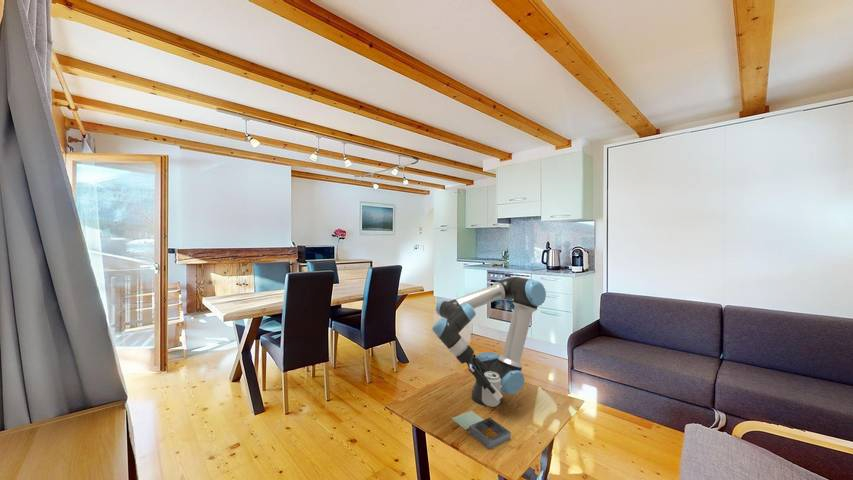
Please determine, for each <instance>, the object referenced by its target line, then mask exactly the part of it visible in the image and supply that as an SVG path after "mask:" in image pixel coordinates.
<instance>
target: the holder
mask: <svg viewBox="0 0 853 480" xmlns="http://www.w3.org/2000/svg"><path fill="white" fill-rule="evenodd" d="M488 428H490V429H491V430H493V432H495V433H497V434H496V435H495V436H493V437H491V438H489V437H488V436H487V435H486V434H484V433H483V432H482V431H484V430H486V429H488ZM468 433H469V435H470V436H472V437H473V438H474V439H475V440H477V442H479V443H481V444H482V445H483V446H484V447H486V449H488V450H491V449H494V448H497V447H498V446H500V445H502V444H504V443H506V442H508V441H510V440H511V436H512V435H511V434H512V432H511V431H510V430H508V429H507V428H505V427H504V426H503V425H501V424H500V423H498V422H497V421H495V420H494V419H493V418H492V417H488V418H485V419H484V420H483V421H480V422H478V423H475V424H473V425H470V426H469V429H468Z"/></svg>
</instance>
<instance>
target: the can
mask: <svg viewBox="0 0 853 480" xmlns="http://www.w3.org/2000/svg"><path fill="white" fill-rule="evenodd" d="M484 375H485V377H486V378H487V379H488V381H489V382H490V384H491V383H492V385H493V386H494V387H495V388H496V389H497V390H498V391H499V392H500V393H501V390H500V388H501V378H500V377H499V374H498V373H496V372H491V371H489V372H485V373H484ZM482 402H483V403H484V404H485V405H487V406H486V407H497V406H498V405H500V404H501V403H500V399H499V400H498V401H497V400H496V399H495V397H494V396H493V395H492V394H491V393H490V392H489V391H488V389H487V388H486V389H484V388H483V387H482ZM499 403H500V404H499ZM485 405H484V406H485Z"/></svg>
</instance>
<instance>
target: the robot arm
mask: <svg viewBox="0 0 853 480" xmlns="http://www.w3.org/2000/svg"><path fill="white" fill-rule="evenodd" d="M546 297H547V292H546V288H545V286H544V284H543V283H542V282H540V281H538V280H535V279H532V278H531V279H530V278H524V277H519V276H512V277H507V278H504V279H501V280H500V279H499V280H497V281H495V282H493V283H492V285H490V286H487V287H485V288H482V289H478V290H476V291H474V292H471V293H468V294H465V295H462V296H460V297H457V298H455V299H454V298H453V299H451V300H448V301H447V300H440V301H439V302H438V303H437V304H436V307H435V311H436V313H437V315H439V316H440V317H441V318H440V319H439V320H438V321H437V322H436V323H435V324H434V325H433V326H432V329H431V330H432V331H433V333H434V334H435V335H436V337H437V339H439V340H440V341H441V343H442V344H443V345H444V346H445V347H446V348H447V349H448V350H449V353H451V354H453V356H455V358H456V360H457V361H458V362H459V363H460V364H465V363H466V365H467V367H468V371H469V372H470V374H472V375H473V377H474V378H475V383H474V386H473V389H472V391H471V399H472V400H473V401H474V402H475V403H476V404H479V405H481V406H485V407H488V406H487V405H485V404H484V403H483V402H482V387H483V388H484V389H486V388H487V389H488V391H489V392H490V393H491V394H492V395H493V396H494V397H495V399H496V400H497V401H498V400H499V399H500V403H499V404H498V405H500V404H501V403H502V399H503V397H504V396H503V395H502V392H503V393H505V394H508V395H514V394H517V393H518V392H520V391H521V390H522V388H523V386H524V384H525V375H524V374H523V371H522V369H523V365H522V363H521V359H522V356H523V352H524V349H525V348H524V347H525V344H526V340H527V336H528V331H529V327H530V324H531V320H532V316H533V313H534V312H536V311H538V308H539V307H540V306H542V305H543V304H544V303H545V301H546ZM507 299H509V300H510V299H511V300H512V304H513V306H514V309H513V313H512V317H511V321H510V325H509V328H508V332H507V335H506V340H505V343H504V348H503V350H502V353H501V355H500V354H499V353H497V352H495V351H494V352H492V351H483V352H479V353H477V355H476V354H475V350H474V349H473V348H472V347H471V346H470V344H468V342H467V341H466V340H465V339H464V338H463V337H462V336H461V335H460V332H461V331H462V330H463V329H464V328H465V327H467V326H468V325H469V323H470V322H471V321H472V320H473V318H475V317H476V314H477V313H476V310H475V309H476V308H477V309H478V308H480V307H482V306H485V305H487V304H489V303H493V302H495V301H498V300H499V301H503V300H507ZM489 371H491V372H496V373H498V374H499V377H500V378H501V388H500V392H499V391H498V390H497V389H496V388H495V387H494V386H493V385H492V383H491V384H490V382H489V381H488V379H487V378H486V377H485V375H484V373H485V372H489Z"/></svg>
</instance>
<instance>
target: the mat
mask: <svg viewBox="0 0 853 480" xmlns="http://www.w3.org/2000/svg"><path fill="white" fill-rule="evenodd" d="M451 420H452V421H454V422H455V423H456V424H457V425H458V426H460V427H461V429H463V430H464V431H467V430H469V426H470V425H473V424H475V423H478V422H480V421H483V420H485V419H484V418H483V417H481V416H480V415H478V414H477V413H475V411H473V410H469V411H467V412H464V413H461V414H459V415H455V416H453V417H451Z"/></svg>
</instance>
